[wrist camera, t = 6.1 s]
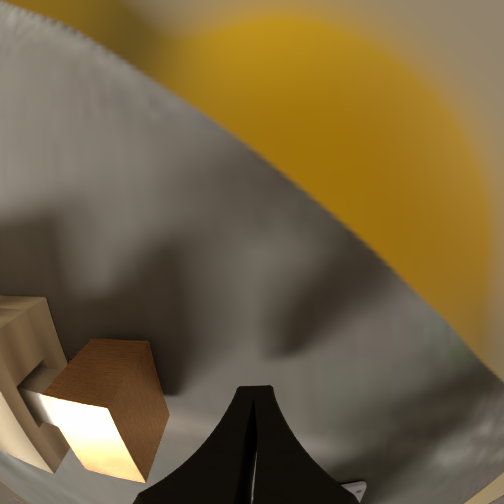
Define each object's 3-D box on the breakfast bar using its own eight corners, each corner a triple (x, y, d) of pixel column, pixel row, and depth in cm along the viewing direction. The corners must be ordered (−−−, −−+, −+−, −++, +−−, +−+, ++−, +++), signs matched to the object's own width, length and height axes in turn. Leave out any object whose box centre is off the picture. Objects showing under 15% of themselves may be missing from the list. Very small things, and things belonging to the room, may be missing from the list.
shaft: (148, 340, 12) (107, 408, 8) (169, 414, 13) (145, 482, 9) (-41, 320, 13) (-81, 347, 9) (-19, 374, 14) (-52, 405, 10)
